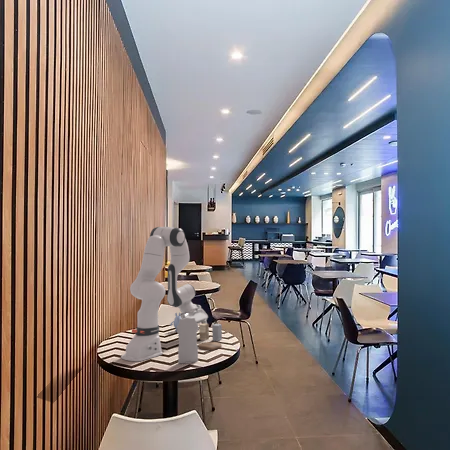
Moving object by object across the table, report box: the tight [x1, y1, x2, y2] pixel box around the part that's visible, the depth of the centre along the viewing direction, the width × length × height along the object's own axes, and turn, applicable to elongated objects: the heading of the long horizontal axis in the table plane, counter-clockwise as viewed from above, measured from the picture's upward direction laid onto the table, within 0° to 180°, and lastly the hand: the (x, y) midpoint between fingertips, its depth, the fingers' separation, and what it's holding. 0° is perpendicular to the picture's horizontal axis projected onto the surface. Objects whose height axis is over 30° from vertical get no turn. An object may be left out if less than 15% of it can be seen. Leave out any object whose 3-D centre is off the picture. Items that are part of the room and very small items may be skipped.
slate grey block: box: [211, 323, 223, 342], centre depth 231 cm, size 4×4×9 cm
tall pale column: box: [176, 317, 199, 365], centre depth 192 cm, size 11×4×22 cm, turn 106°
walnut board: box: [197, 341, 222, 351], centre depth 217 cm, size 13×13×1 cm
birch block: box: [198, 322, 210, 341], centre depth 234 cm, size 4×4×9 cm
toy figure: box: [169, 312, 182, 332], centre depth 255 cm, size 11×6×12 cm, turn 107°
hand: (202, 328), depth 234 cm, fingers open, 8 cm apart
